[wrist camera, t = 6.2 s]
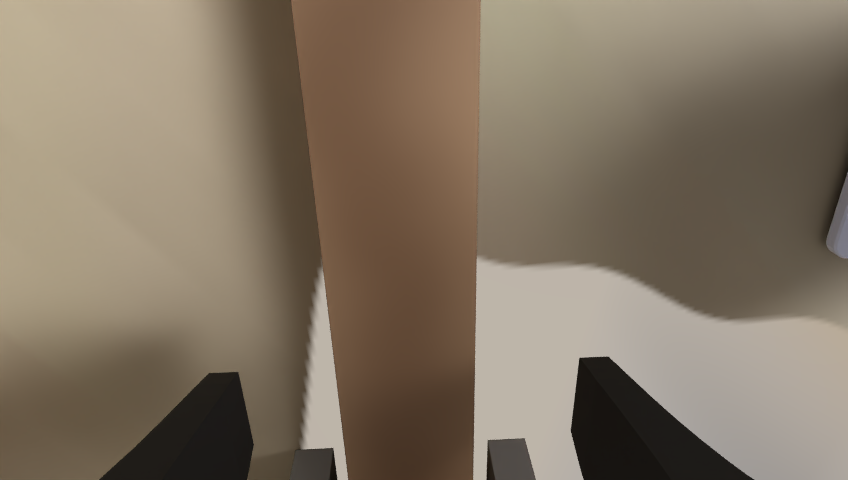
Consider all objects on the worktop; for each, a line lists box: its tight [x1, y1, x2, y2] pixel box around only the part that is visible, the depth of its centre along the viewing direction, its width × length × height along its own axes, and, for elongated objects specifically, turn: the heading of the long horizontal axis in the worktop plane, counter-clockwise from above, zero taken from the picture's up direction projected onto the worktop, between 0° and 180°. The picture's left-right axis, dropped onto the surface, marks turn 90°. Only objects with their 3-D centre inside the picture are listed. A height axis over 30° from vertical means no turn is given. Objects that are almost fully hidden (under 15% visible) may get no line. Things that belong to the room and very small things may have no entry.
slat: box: [291, 0, 481, 480], centre depth 14 cm, size 3×16×4 cm, turn 1°
